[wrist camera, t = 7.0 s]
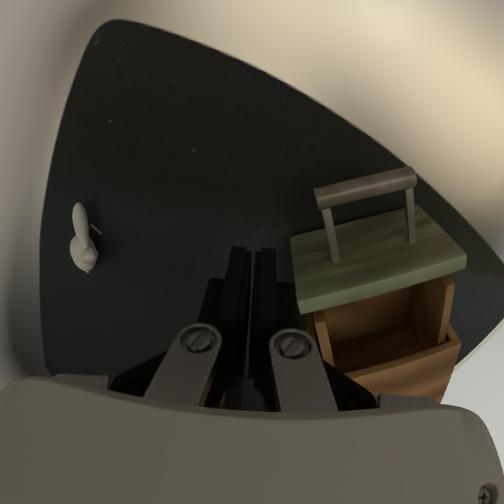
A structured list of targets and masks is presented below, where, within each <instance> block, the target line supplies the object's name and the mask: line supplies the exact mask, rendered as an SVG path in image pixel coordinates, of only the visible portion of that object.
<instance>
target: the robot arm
mask: <svg viewBox="0 0 504 504" xmlns="http://www.w3.org/2000/svg"><path fill="white" fill-rule="evenodd" d="M250 283H251V251H246V247H232V249H231V254H230V258H229V263H228V267H227V272H226V277H225V279H216V278H210V280H209V282H208V286H207V289H206V293H205V296H204V300H203V303H202V307H201V311H200V314H199V318H198V321H197V323H192V324H189V325H187V326H185V327H183V328H182V329H180V330H179V332H178V333H177V334H176V336H175V338H174V340H173V342H172V344H171V345H170V347H169V349H168V350H167V351H165V352H163V353H161V354H159V355H157V356H155V357H153V358H151V359H149V360H147V361H145V362H143V363H141V364H139V365H137V366H135V367H133V368H131V369H129V370H127V371H125V372H123V373H121V374H120V375H118V376H117V377H115V378H110V376H109V375H80V374H58V375H56V376H54V377H25V378H20V379H17V380H14V381H12V382H10V383H8V384H7V385H6V386H5V387H4V388H3V389H2V390H1V391H0V504H504V474H503V470H502V467H501V463H500V460H499V457H498V453H497V450H496V448H495V445H494V442H493V440H492V437H491V435H490V433H489V431H488V429H487V427H486V425H485V424H484V422H483V421H482V419H481V418H480V417H479V416H478V415H477V414H475V413H474V412H472V411H470V410H467V409H465V408H462V407H456V406H452V405H443V404H440V403H439V402H438V401H436V400H435V399H433V398H429V397H418V396H405V395H394V394H385V393H380V394H379V396H376V395H373V394H372V393H371V392H369V391H368V390H367V389H366V388H364V387H363V386H361V385H360V384H358V383H357V382H355V381H354V380H352V379H351V378H349V377H348V376H346V375H345V374H343V373H342V372H340V371H339V370H338V369H336V368H335V367H333V366H332V365H330V364H329V363H327V362H326V361H325V360H323V359H322V358H321V357H320V354H319V351H318V348H317V345H316V342H315V340H314V338H313V337H312V336H311V335H310V334H309V333H307V332H305V331H303V330H300V329H299V325H298V314H297V304H296V295H295V286H294V283H291V282H277V281H276V250H275V249H269V248H262V250H261V252H256V256H255V268H254V281H253V293H252V306H251V319H250V344H249V371H248V378H250V379H254V388H255V389H256V390H257V391H258V392H259V393H260V394H262V395H263V405H264V412H257V411H240V410H227V409H222V407H223V404H224V401H225V396H226V392H228V391H229V390H231V389H232V388H234V387H235V386H237V381H238V378H243V377H244V367H245V356H246V344H247V333H248V322H249V310H250Z"/></svg>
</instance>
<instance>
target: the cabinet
mask: <svg viewBox="0 0 504 504" xmlns="http://www.w3.org/2000/svg"><path fill="white" fill-rule="evenodd" d="M304 315H305V323H306V332H307V333H309V334H310V335H311V336H312V337H313V338H314V340H315V342H316V345H317V348H318V351H319V354H320V357H321V358H322V359H323V357H322V353H321V349H320V345H319V341H318V337H317V333H316V329H315V325H314V319H313V312H309V313H305V314H304ZM460 347H461V342H460V340H459V338H458V337H457V335H456V333H455V331H454V329H453V328H452V326H451V324H450V322H449V323H448V328H447V333H446V337H445V342H444V344H441V345H438V346H436V347H433V348H430V349H427V350H424V351H421V352H418V353H415V354H412V355H409V356H406V357H403V358H400V359H396V360H393V361H390V362H386V363H383V364H379V365H375V366H372V367H368V368H364V369H360V370H356V371H352V372H348V373H344V374H345V375H346V376H348V377H349V378H351V379H352V380H354V381H355V382H357V383H358V384H360V385H361V386H363V387H364V388H366V389H367V390H368V391H369V392H371V393H372V394H373V395H376V396H379V394H380V393H385V394H394V395H405V396H418V397H429V398H433V399H435V400H436V401H438V402H439V403H441V400H442V398H443V396H444V393H445V390H446V388H447V385H448V383H449V380H450V377H451V374H452V372H453V369H454V366H455V363H456V360H457V357H458V354H459V350H460Z"/></svg>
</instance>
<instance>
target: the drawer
mask: <svg viewBox="0 0 504 504" xmlns="http://www.w3.org/2000/svg"><path fill="white" fill-rule="evenodd" d="M416 185H417V177H416V174H415V171H414V169H413V168H412V167H410V166H409V167H405V168H400V169H395V170H391V171H386V172H381V173H377V174H372V175H368V176H364V177H359V178H355V179H351V180H347V181H342V182H338V183H334V184H330V185H326V186H322V187H318V188H314V189H313V194H314V198H315V202H316V205H317V208H318V210H320V209H321V213H322V217H323V222H324V226H325V228H323V229H319V230H315V231H311V232H307V233H303V234H299V235H296V236H292V237H290V245H291V253H292V262H293V270H294V279H295V288H296V297H297V303H298V307H299V310H300V313H301V314H305V313H309V312H313V319H314V325H315V329H316V333H317V337H318V341H319V345H320V349H321V353H322V357H323V360H325V361H326V362H327V363H329V364H330V365H332V366H333V367H335V368H336V369H338V370H339V371H340V372H342V373H343V374H344V373H348V372H352V371H356V370H360V369H364V368H368V367H372V366H375V365H379V364H383V363H386V362H390V361H393V360H396V359H400V358H403V357H406V356H409V355H412V354H415V353H418V352H421V351H424V350H427V349H430V348H433V347H436V346H438V345H441V344H444V342H445V337H446V333H447V328H448V323H449V318H450V312H451V307H452V301H453V294H454V287H455V283H454V282H453V280H452V279H451V278H450V276H449V275H448V274H450V273H453V272H456V271H459V270H462V269H464V268H465V267H466V259H467V254H466V253H465V252H464V251H463V250H462V249H461V248H460V247H459V246H458V244H457V243H456V242H455V241H454V240H453V239H452V238H451V237H450V236H449V235H448V234H447V233H446V232H445V231H444V230H443V229H442V228H441V227H440V226H439V225H438V224H437V223H436V222H435V221H434V220H433V219H432V218H431V217H430V216H429V215H428V214H426V213H425V212H424V211H423V210H422V209H421V208H420V207H419V206H418V205H416V206H414V196H413V188H412V187H415V186H416ZM399 190H403V196H404V207H405V208H403V209H399V210H395V211H391V212H387V213H383V214H379V215H375V216H371V217H367V218H363V219H359V220H355V221H351V222H347V223H343V224H339V225H335V226H334V223H333V218H332V214H331V209H330V207H332V206H336V205H340V204H344V203H348V202H352V201H357V200H361V199H365V198H369V197H373V196H377V195H382V194H386V193H390V192H394V191H399Z"/></svg>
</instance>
